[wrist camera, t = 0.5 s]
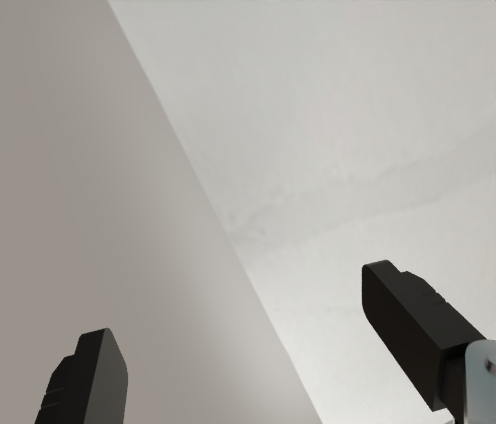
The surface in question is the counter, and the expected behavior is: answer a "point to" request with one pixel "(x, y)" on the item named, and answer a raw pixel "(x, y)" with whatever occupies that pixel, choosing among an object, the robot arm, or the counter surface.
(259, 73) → the counter surface
